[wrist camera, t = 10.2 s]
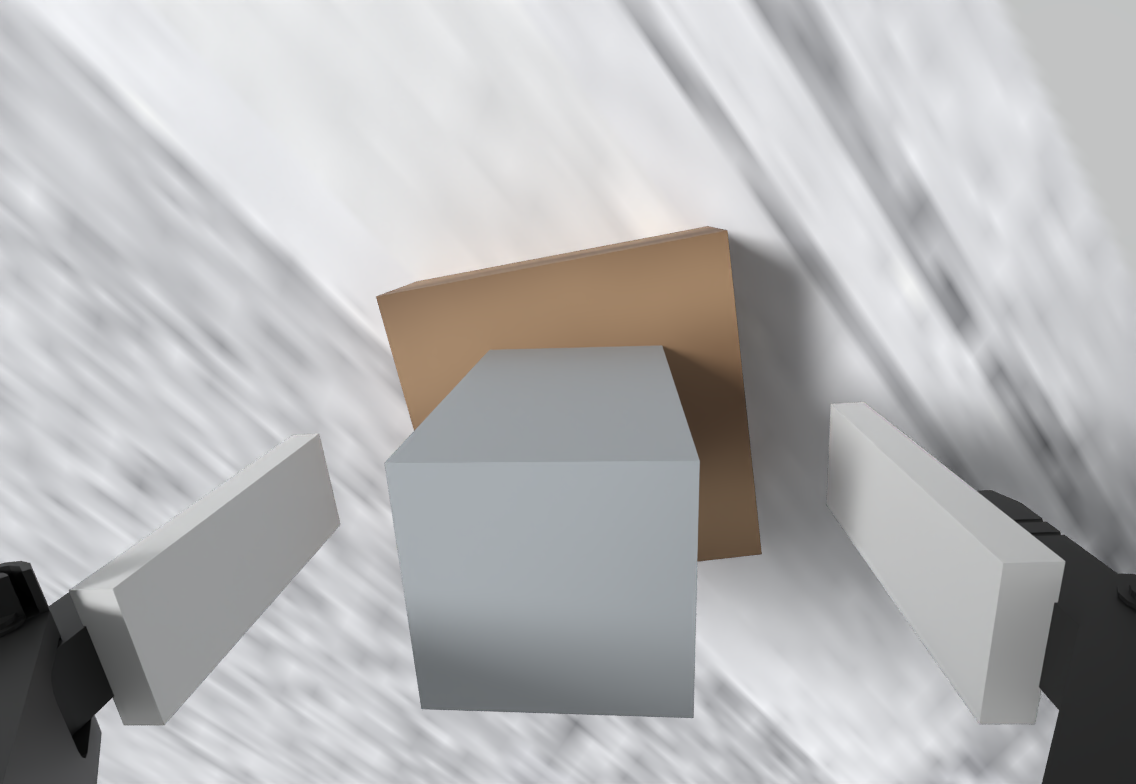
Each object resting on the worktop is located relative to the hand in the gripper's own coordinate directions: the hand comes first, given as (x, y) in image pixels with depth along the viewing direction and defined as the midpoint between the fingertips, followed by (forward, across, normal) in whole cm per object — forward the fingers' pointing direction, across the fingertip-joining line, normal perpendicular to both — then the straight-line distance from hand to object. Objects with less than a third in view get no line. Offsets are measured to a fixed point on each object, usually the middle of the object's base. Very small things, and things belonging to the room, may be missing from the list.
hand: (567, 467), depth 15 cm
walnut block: (+7, 0, 0) cm, 7 cm away
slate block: (+3, 0, 0) cm, 3 cm away
